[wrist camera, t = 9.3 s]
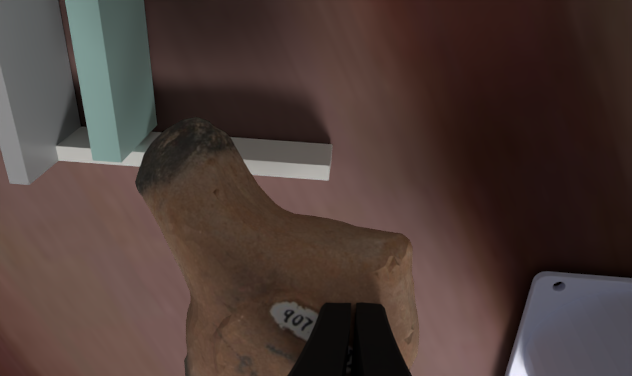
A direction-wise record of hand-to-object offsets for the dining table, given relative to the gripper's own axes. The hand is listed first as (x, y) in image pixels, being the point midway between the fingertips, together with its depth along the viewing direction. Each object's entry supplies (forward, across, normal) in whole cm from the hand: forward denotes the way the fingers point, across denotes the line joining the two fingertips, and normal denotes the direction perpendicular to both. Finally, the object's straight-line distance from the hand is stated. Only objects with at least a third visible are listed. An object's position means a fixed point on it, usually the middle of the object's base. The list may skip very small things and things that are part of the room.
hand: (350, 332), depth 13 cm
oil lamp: (+1, -2, 0) cm, 3 cm away
